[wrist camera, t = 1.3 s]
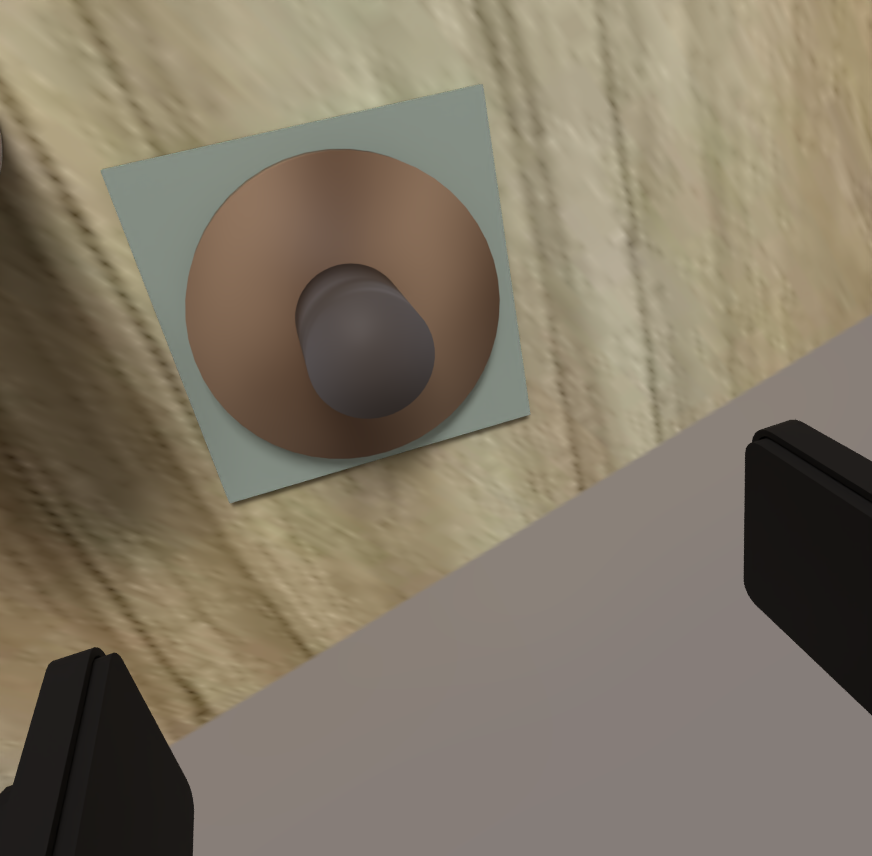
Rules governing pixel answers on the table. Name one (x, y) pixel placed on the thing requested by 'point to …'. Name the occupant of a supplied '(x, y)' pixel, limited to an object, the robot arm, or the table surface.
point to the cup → (0, 152)
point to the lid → (341, 303)
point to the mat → (243, 158)
